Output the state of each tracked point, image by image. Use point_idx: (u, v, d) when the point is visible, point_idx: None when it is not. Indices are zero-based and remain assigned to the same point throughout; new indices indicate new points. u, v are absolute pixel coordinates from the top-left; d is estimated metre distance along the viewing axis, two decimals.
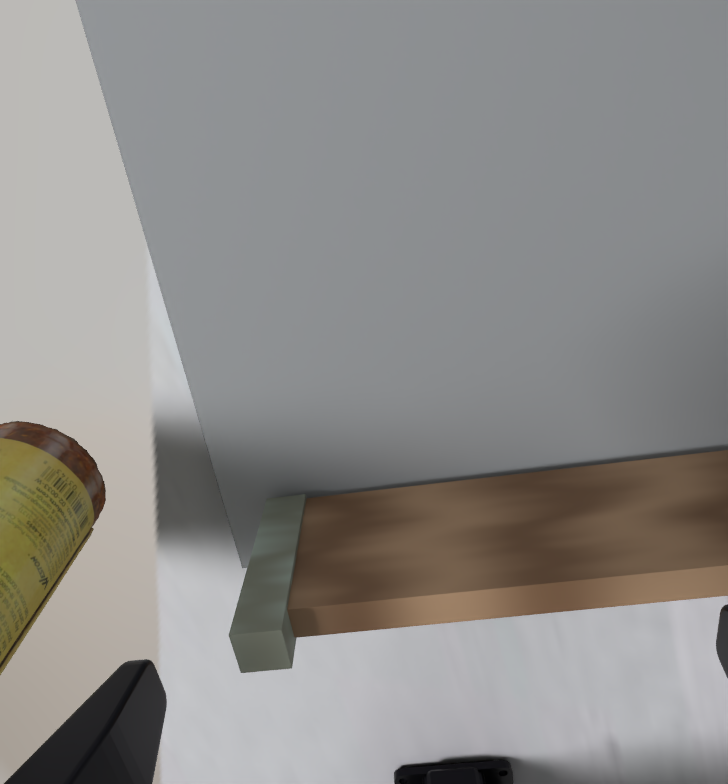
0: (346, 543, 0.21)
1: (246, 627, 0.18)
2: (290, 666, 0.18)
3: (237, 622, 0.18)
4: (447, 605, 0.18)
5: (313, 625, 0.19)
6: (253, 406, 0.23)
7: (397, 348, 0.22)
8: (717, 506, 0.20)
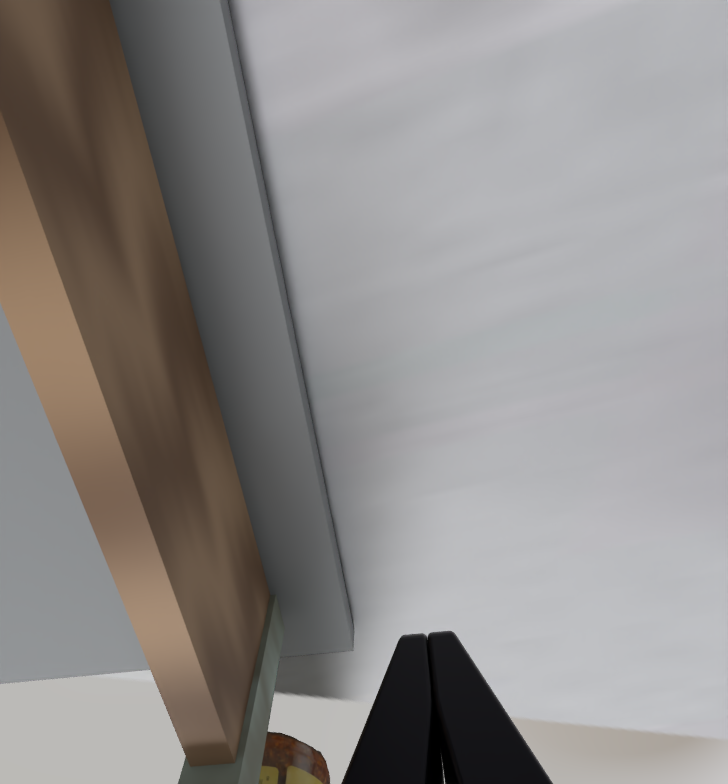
0: None
1: None
2: None
3: None
4: (154, 624, 0.13)
5: (211, 747, 0.15)
6: None
7: (44, 505, 0.20)
8: None
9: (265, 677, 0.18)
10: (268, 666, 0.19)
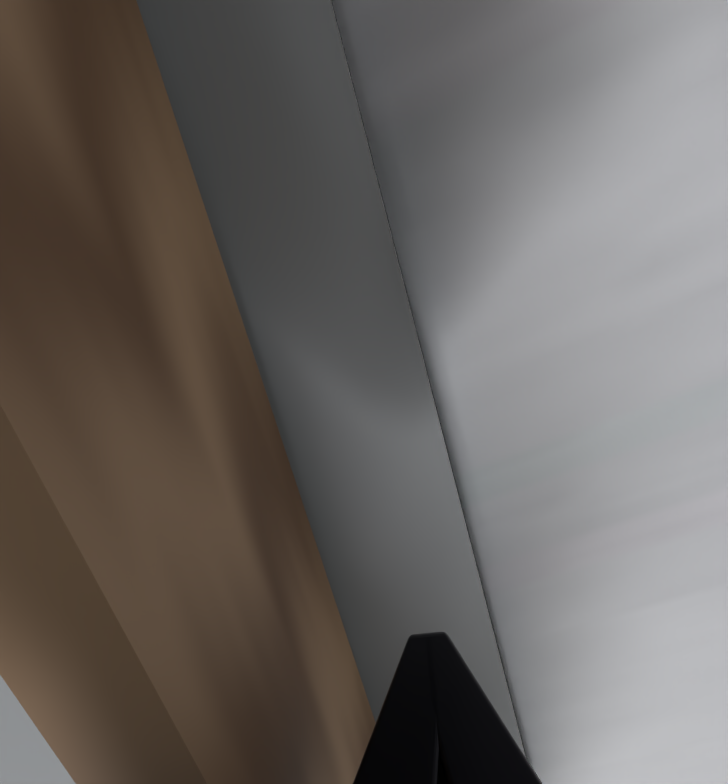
0: None
1: None
2: None
3: None
4: None
5: None
6: None
7: None
8: None
9: None
10: None
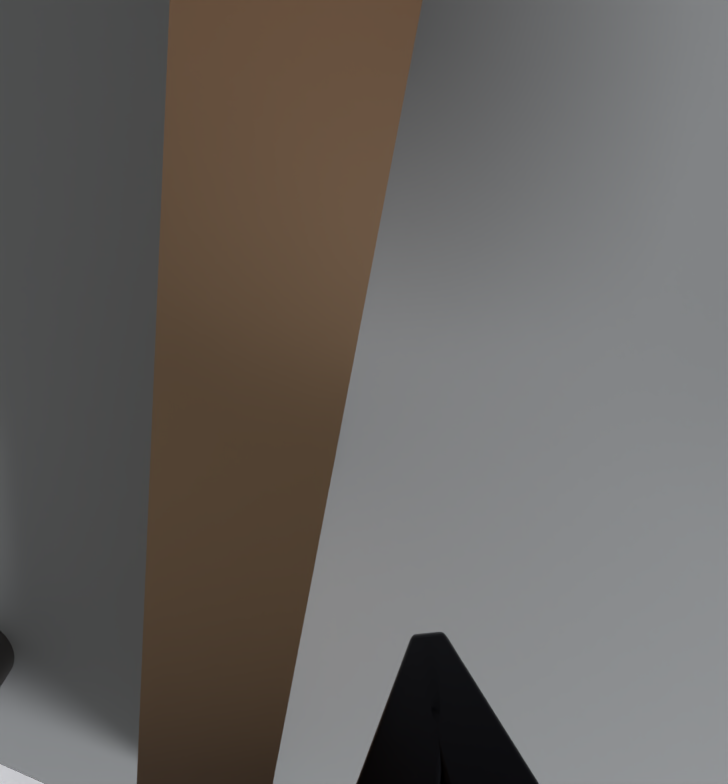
0: None
1: None
2: None
3: None
4: None
5: None
6: None
7: (707, 611, 0.13)
8: None
9: None
10: None
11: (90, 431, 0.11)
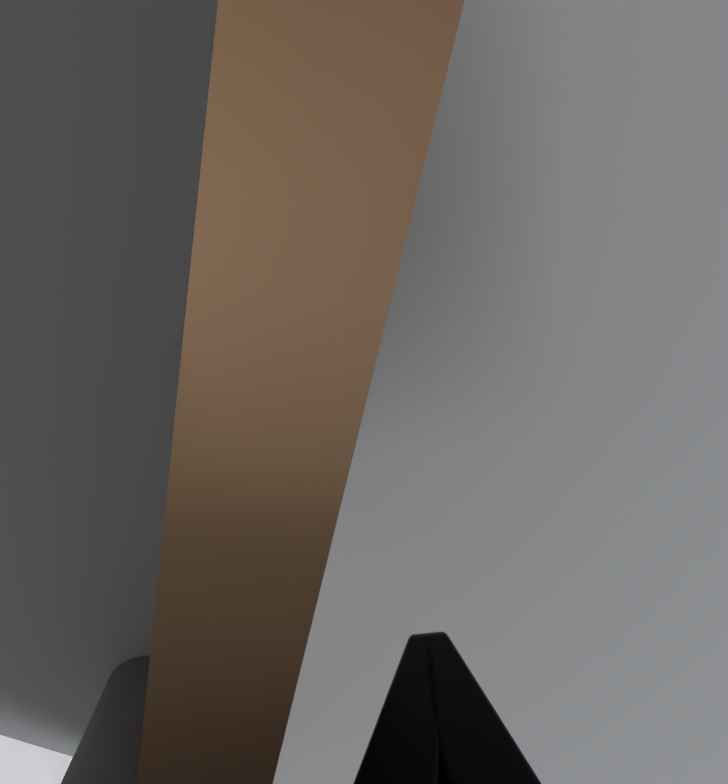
0: None
1: None
2: None
3: None
4: None
5: None
6: None
7: None
8: None
9: None
10: None
11: None
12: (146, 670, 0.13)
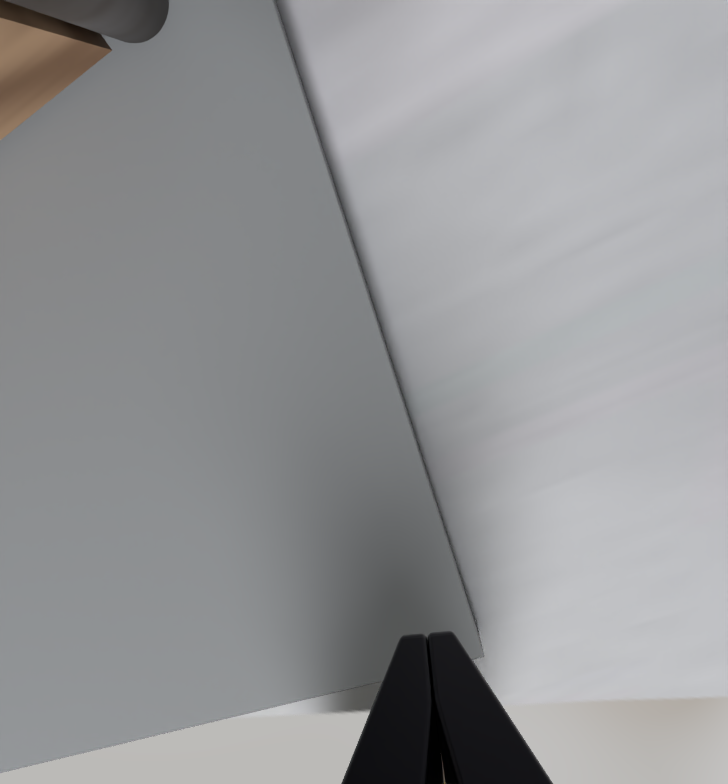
0: None
1: None
2: None
3: None
4: None
5: None
6: (272, 663, 0.23)
7: (167, 559, 0.20)
8: None
9: None
10: None
11: None
12: None
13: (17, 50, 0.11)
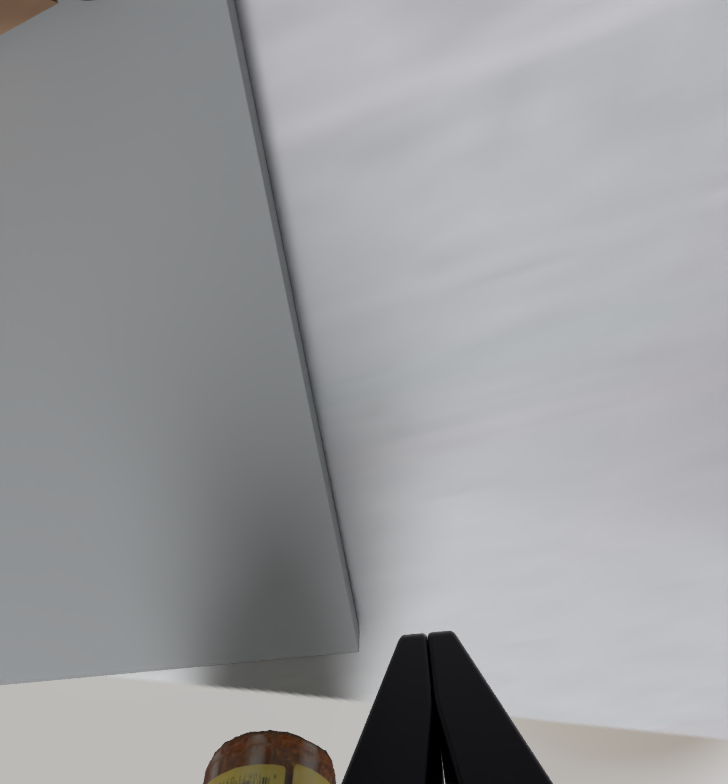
0: None
1: None
2: None
3: None
4: None
5: None
6: (151, 628, 0.23)
7: (59, 510, 0.21)
8: None
9: None
10: None
11: None
12: None
13: None
